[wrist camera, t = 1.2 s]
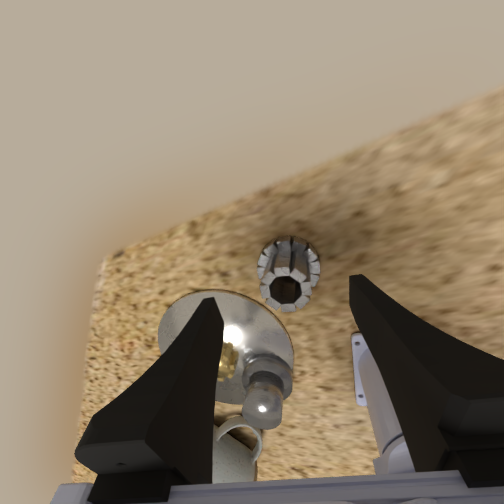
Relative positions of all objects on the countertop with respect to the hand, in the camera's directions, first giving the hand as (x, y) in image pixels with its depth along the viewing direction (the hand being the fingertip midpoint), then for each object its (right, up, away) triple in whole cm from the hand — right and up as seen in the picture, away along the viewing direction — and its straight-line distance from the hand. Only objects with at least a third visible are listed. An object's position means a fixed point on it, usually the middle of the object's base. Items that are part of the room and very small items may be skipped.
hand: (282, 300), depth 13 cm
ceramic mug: (-5, -23, +21) cm, 31 cm away
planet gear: (+2, +1, +10) cm, 10 cm away
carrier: (-5, -9, +15) cm, 18 cm away
